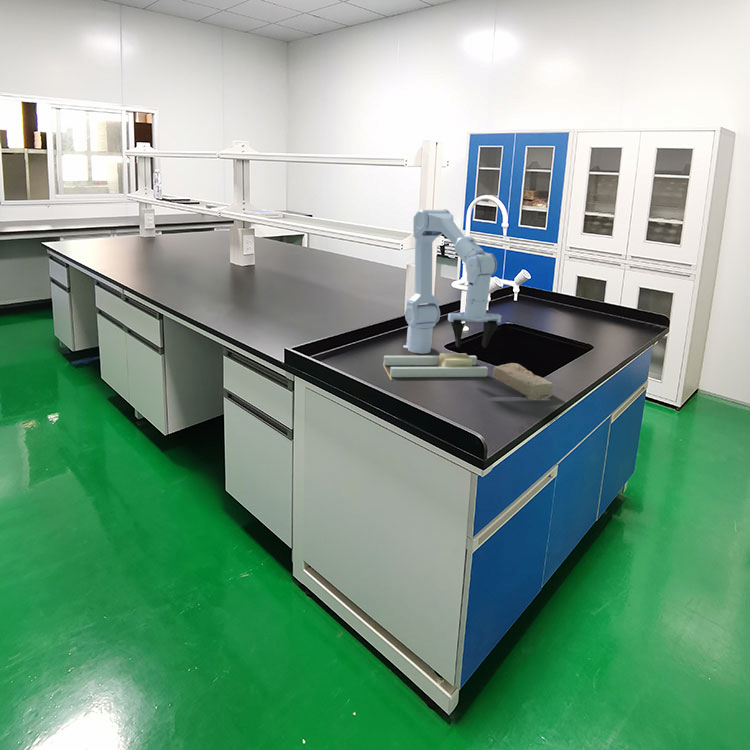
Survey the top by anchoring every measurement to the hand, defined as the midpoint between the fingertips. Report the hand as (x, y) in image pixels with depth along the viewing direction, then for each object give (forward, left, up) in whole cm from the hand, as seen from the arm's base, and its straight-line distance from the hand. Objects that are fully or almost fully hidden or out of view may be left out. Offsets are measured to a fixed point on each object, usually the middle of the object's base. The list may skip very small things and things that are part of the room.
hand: (471, 346), depth 167 cm
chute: (-5, -8, -10) cm, 14 cm away
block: (-5, -2, -9) cm, 10 cm away
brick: (+7, +14, -10) cm, 18 cm away
